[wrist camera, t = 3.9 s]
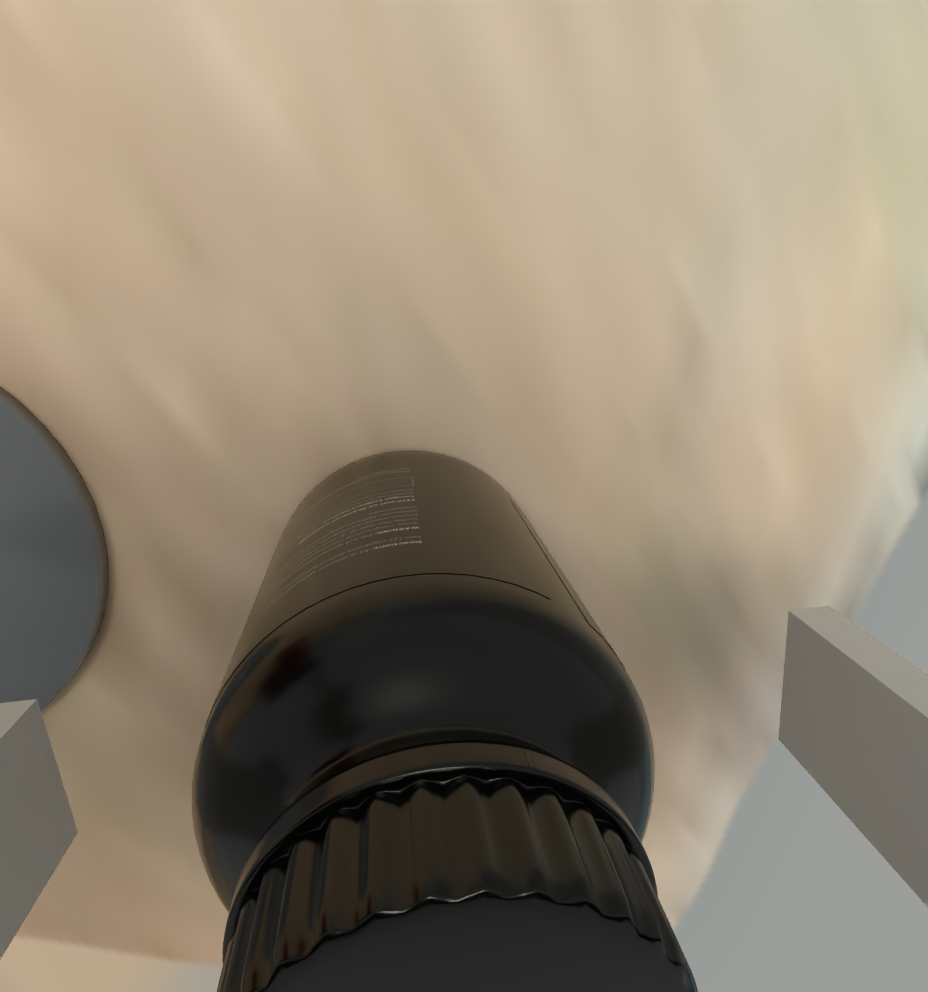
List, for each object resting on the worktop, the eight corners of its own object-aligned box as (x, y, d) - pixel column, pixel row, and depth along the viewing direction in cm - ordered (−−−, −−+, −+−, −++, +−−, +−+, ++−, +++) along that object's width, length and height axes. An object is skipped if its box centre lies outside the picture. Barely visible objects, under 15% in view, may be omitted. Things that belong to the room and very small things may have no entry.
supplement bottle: (273, 675, 18) (66, 1348, 6) (285, 431, 16) (24, 766, 4) (516, 686, 19) (715, 1288, 7) (555, 459, 17) (903, 789, 5)
